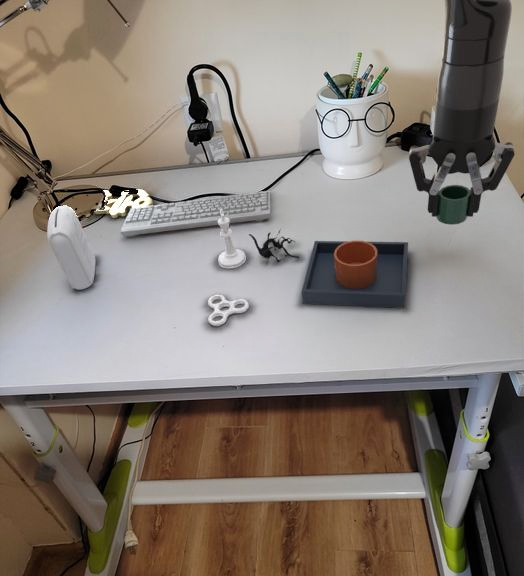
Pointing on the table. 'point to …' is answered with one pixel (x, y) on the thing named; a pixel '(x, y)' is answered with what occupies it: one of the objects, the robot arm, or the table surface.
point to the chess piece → (229, 246)
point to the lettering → (124, 203)
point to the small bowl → (453, 204)
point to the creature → (266, 250)
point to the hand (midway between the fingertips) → (452, 213)
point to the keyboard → (197, 213)
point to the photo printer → (71, 247)
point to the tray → (379, 294)
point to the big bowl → (355, 264)
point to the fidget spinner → (227, 312)
